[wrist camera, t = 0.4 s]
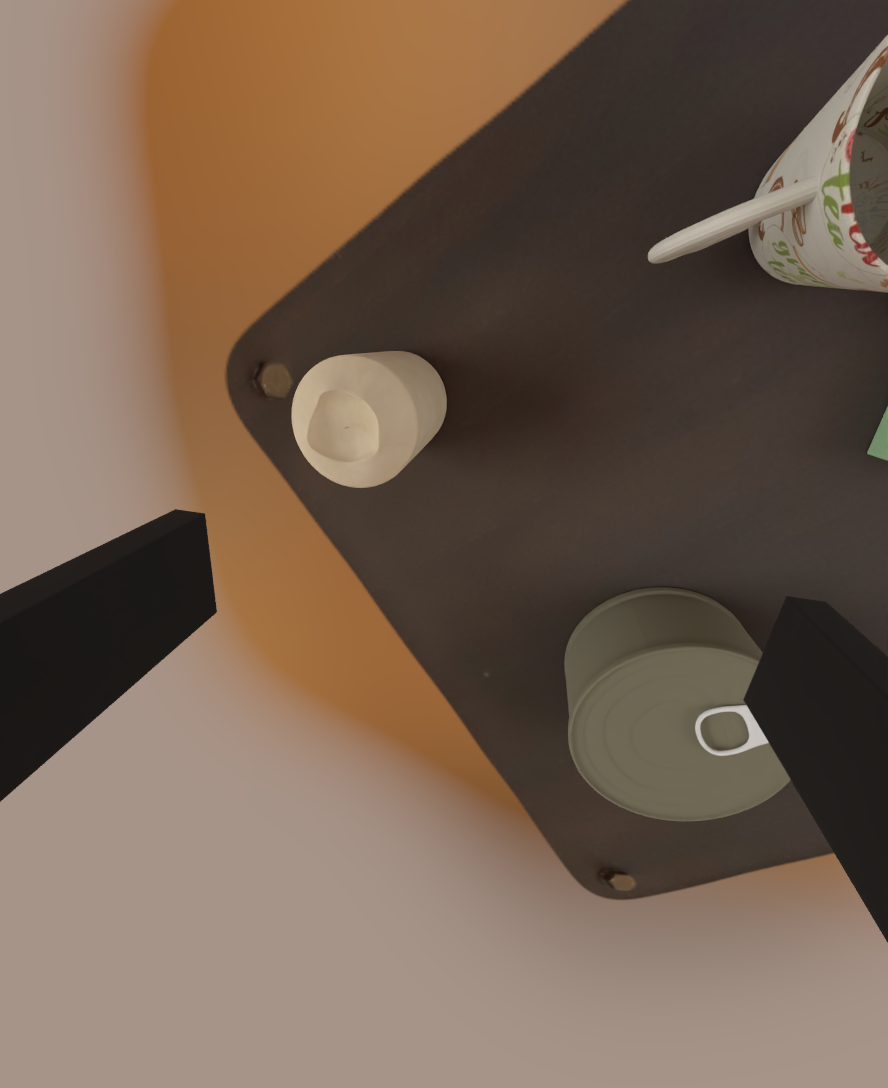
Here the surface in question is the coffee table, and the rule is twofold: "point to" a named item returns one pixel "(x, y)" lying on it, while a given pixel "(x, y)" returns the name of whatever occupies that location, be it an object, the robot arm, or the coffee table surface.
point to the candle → (367, 415)
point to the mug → (818, 196)
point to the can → (667, 707)
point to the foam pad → (880, 439)
